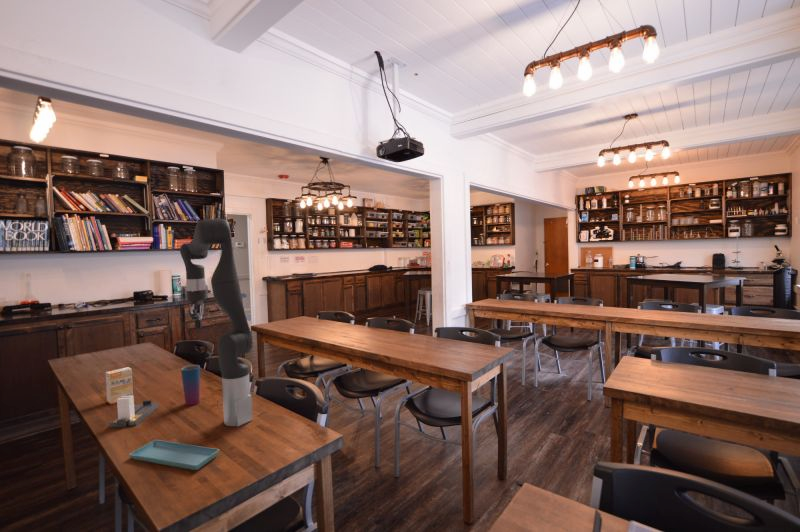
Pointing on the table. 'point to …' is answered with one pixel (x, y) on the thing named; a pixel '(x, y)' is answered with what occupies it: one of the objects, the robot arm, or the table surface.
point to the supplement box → (118, 384)
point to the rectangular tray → (175, 454)
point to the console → (136, 414)
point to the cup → (191, 384)
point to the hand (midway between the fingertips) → (198, 328)
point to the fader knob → (126, 407)
